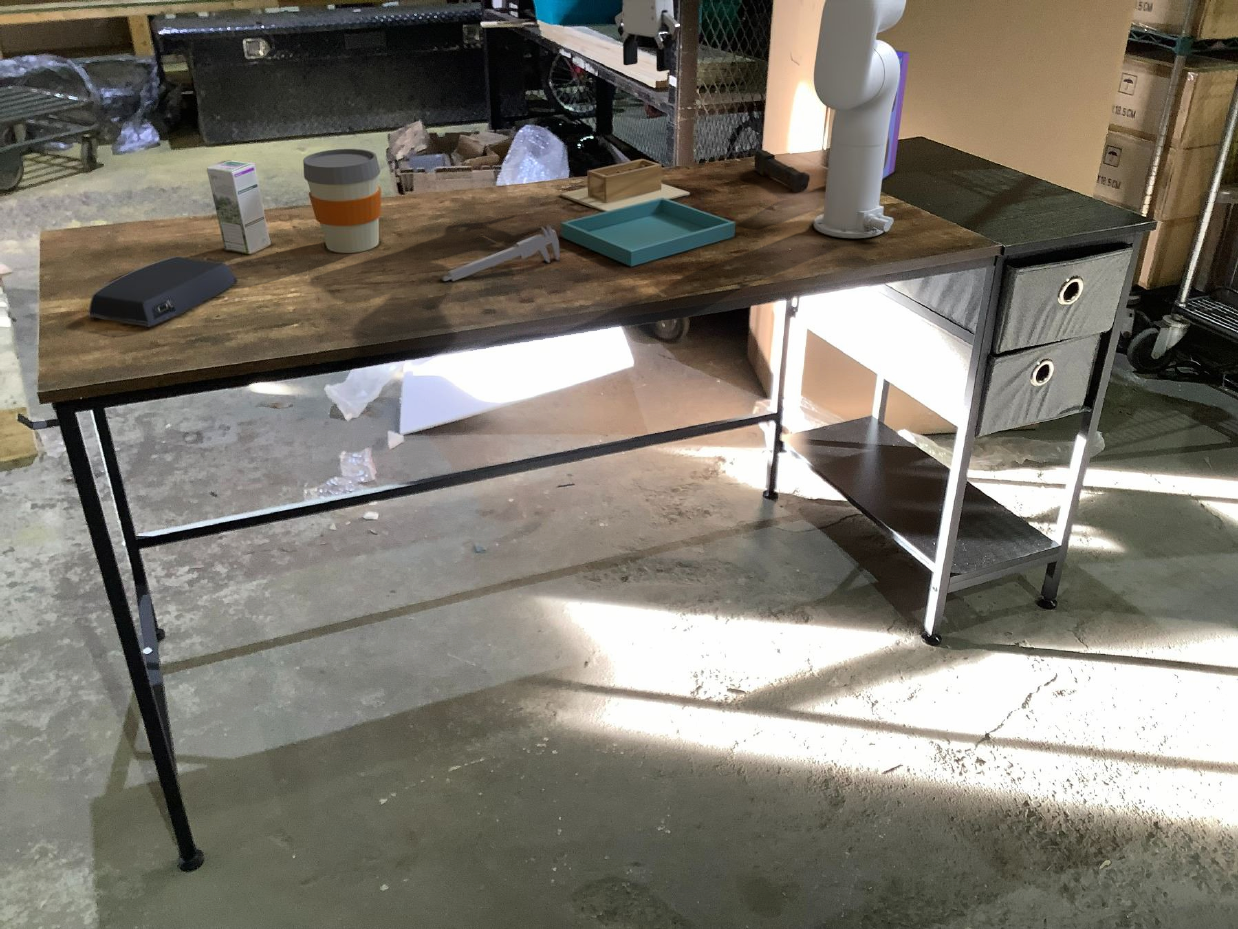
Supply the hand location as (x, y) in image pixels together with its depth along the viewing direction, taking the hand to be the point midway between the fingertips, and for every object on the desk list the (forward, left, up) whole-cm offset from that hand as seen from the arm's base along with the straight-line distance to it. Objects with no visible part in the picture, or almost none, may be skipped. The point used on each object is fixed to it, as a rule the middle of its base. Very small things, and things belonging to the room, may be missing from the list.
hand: (646, 67), depth 195 cm
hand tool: (-14, -23, -23) cm, 36 cm away
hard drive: (0, +96, -23) cm, 99 cm away
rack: (-2, +7, -23) cm, 24 cm away
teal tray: (-24, +20, -23) cm, 39 cm away
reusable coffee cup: (+6, +62, -23) cm, 66 cm away
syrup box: (+16, +77, -23) cm, 82 cm away
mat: (-2, +7, -23) cm, 24 cm away
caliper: (-22, +49, -23) cm, 58 cm away
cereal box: (-26, -38, -23) cm, 52 cm away
